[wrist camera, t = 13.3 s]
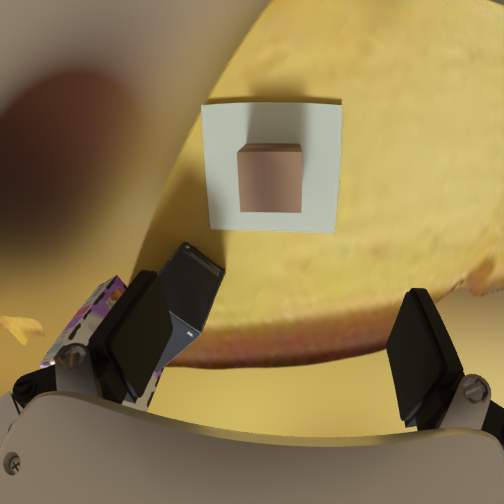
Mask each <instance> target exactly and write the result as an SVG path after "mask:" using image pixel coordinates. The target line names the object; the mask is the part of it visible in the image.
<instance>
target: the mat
mask: <svg viewBox="0 0 504 504" xmlns="http://www.w3.org/2000/svg"><path fill="white" fill-rule="evenodd" d="M201 111H202V129H203V145H204V159H205V173H206V186H207V197H208V209H209V220H210V229H213V230H253V231H284V232H311V233H334V231H335V221H336V211H337V200H338V188H339V174H340V158H341V136H342V105H332V104H318V103H296V102H247V103H226V104H211V105H202V106H201ZM257 143H294V144H300V146H301V149H302V209H301V213H276V212H240V201H239V184H238V167H237V152H238V151H239V150H240V149H241V148H242V147H243V146H244V145H245V144H257Z"/></svg>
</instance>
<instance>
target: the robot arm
mask: <svg viewBox="0 0 504 504" xmlns="http://www.w3.org/2000/svg"><path fill="white" fill-rule="evenodd" d="M172 332H173V324H172V320H171V316H170V313H169V309H168V305H167V300H166V296H165V292H164V288H163V283H162V279H161V277H160V276H158V275H157V273H156V272H155V271H146V270H142V271H140V272H139V274H138V275H137V276H136V277H135V279H134V280H133V281H132V282H131V284H130V285H129V286H128V288H127V289H126V290H125V291H124V293H123V294H122V295H121V297H120V298H119V299H118V300H117V302H116V303H115V304H114V306H113V307H112V308H111V310H110V311H109V312H108V314H107V315H106V316H105V318H104V319H103V320H102V322H101V323H100V324H99V326H98V327H97V329H96V330H95V331H94V333H93V334H92V335H91V337H90V338H89V340H88V341H89V343H88V344H87V346H85V345H84V344H82V343H71V344H68V345H66V346H64V347H63V348H62V349H61V350H60V351H59V352H58V353H57V355H56V358H55V364H53V365H51V366H48V367H45V368H42V369H40V370H37V371H35V372H32V373H29V374H26V375H23V376H22V377H20V378H19V379H18V380H17V381H16V383H15V384H14V387H13V393H11V392H10V391H9V392H7V393H6V394H4V395H3V396H2V397H0V504H504V408H502V407H501V406H499V405H498V404H496V403H494V402H493V401H492V400H491V388H490V386H489V384H488V382H486V380H485V379H484V378H482V377H481V376H479V375H476V374H468V375H466V376H465V375H464V372H463V367H462V364H461V362H460V359H459V357H458V355H457V352H456V350H455V348H454V346H453V343H452V341H451V339H450V336H449V334H448V332H447V330H446V327H445V325H444V323H443V321H442V319H441V317H440V315H439V313H438V311H437V309H436V307H435V305H434V303H433V301H432V299H431V297H430V295H429V293H428V291H427V290H426V289H425V288H412V289H411V290H410V291H409V292H407V293H406V294H405V297H404V299H403V302H402V305H401V308H400V311H399V313H398V316H397V319H396V321H395V324H394V326H393V329H392V331H391V334H390V336H389V338H388V341H387V346H386V349H387V354H388V358H389V362H390V367H391V371H392V376H393V381H394V385H395V390H396V396H397V401H398V407H399V412H400V417H401V420H402V421H405V427H414V426H417V429H418V431H415V432H408V433H399V434H390V435H389V434H388V435H377V436H362V437H293V436H277V435H265V434H256V433H248V432H240V431H233V430H226V429H220V428H214V427H209V426H203V425H198V424H193V423H188V422H183V421H179V420H175V419H171V418H167V417H163V416H159V415H155V414H152V413H148V412H145V411H141V410H137V409H134V408H131V407H127V406H124V405H122V403H123V401H127V402H131V403H134V404H135V403H136V401H137V399H138V398H141V397H142V396H143V394H144V392H145V390H146V387H147V385H148V383H149V381H150V379H151V377H152V375H153V372H154V370H155V368H156V366H157V364H158V362H159V360H160V358H161V356H162V354H163V352H164V350H165V347H166V345H167V343H168V341H169V339H170V337H171V335H172Z"/></svg>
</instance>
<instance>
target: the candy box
mask: <svg viewBox="0 0 504 504" xmlns="http://www.w3.org/2000/svg"><path fill="white" fill-rule="evenodd" d="M126 289H127V287H126V285H125V284H124V283H123V282H122V281H121V279H120V278H119V277H118V276H117V275H116V276H115V277H113V278H111V279H110V280H108V281H107V282H105V283H103V284H102V285H100V286H99V287H98V288H97V289H96V290H95V291H94V292H93V293H92V295H91V296H90V297H89V298H88V300H87V301H86V302H85V303H84V304H83V306H82V307H81V308H80V309H79V311H78V312H77V313H76V315H75V316H74V317H73V318H72V320H71V321H70V322H69V324H68V325H67V326H66V328H65V329H64V330H63V332H62V333H61V334H60V336H59V337H58V338H57V340H56V342H55V343H54V344H53V346H52V347H51V348H50V350H49V351H48V352H47V354H46V355H45V357H44V358H43V360H42V361H41V363H40V364H39V366H40V367H41V368H45V367H48V366H51V365H53V364H55V358H56V355H57V353H58V352H59V351H60V350H61V349H62V348H63V347H64V346H66V345H68V344H71V343H82V344H84V345H85V346H87V344H88V343H89V341H88V340H89V338H90V337H91V335H92V334H93V333H94V331H95V330H96V329H97V327H98V326H99V324H100V323H101V322H102V320H103V319H104V318H105V316H106V315H107V314H108V312H109V311H110V310H111V308H112V307H113V306H114V304H115V303H116V302H117V300H118V299H119V298H120V297H121V295H122V294H123V293H124V291H125V290H126ZM164 367H165V366H164ZM164 367H163V368H162V369H161V370H160V371H159V372H155V371H154V372H153V375H152V377H151V379H150V381H149V383H148V385H147V387H146V390H145V392H144V394H143V396H142V397H141V398H138V399H137V401H136V403H135V404H134V403H131V402H127V401H123V403H122V405H124V406H127V407H131V408H134V409H137V410H141V411H145V412H147V410H148V406H149V404H150V402H151V400H152V397H153V394H154V392H155V390H156V387H157V384H158V382H159V379H160V377H161V374H162V372H163V369H164Z"/></svg>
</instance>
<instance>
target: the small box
mask: <svg viewBox="0 0 504 504" xmlns="http://www.w3.org/2000/svg"><path fill="white" fill-rule="evenodd" d="M225 273H226V272H225V270H223V269H222V268H221V267H219V266H217V265H216V264H215V263H213V262H212V261H211V260H209V259H208V258H207V257H205V256H204V255H203V254H201V253H200V252H199V251H198V250H197V249H195V248H194V247H192V246H191V245H189V244H188V243H187V242H184V243H183V244H182V245H181V246H180V247H179V248H178V249H177V250H176V252H175V253H174V254H173V255H172V256H171V257H170V259H169V260H168V261H167V263H166V264H165V265H164V266H163V268H162V269H161V270H160V272H159V273H158V274H157V275H158V276H160V277H161V279H162V283H163V288H164V292H165V296H166V300H167V305H168V309H169V313H170V316H171V320H172V324H173V332H172V335H171V337H170V339H169V341H168V343H167V345H166V347H165V350H164V352H163V354H162V356H161V358H160V360H159V362H158V364H157V366H156V368H155V370H154V371H155V372H159V371H160V370H161V369H162V368H163V367H164V366H166V365H167V364H168V363H169V362H170V361H171V360H173V359H174V358H175V357H176V356H177V355H178V354H179V353H181V352H182V351H183V350H184V349H185V348H186V347H187V346H189V345H190V344H191V343H192V342H193V341H194V340H195V339H197V338H198V337H199V336H200V335H201V334H202V331H203V328H204V326H205V323H206V320H207V318H208V315H209V312H210V310H211V308H212V305H213V302H214V299H215V296H216V294H217V291H218V289H219V287H220V284H221V282H222V280H223V277H224V275H225Z"/></svg>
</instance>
